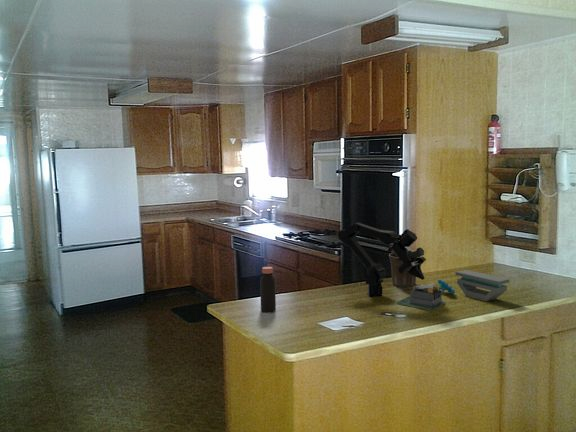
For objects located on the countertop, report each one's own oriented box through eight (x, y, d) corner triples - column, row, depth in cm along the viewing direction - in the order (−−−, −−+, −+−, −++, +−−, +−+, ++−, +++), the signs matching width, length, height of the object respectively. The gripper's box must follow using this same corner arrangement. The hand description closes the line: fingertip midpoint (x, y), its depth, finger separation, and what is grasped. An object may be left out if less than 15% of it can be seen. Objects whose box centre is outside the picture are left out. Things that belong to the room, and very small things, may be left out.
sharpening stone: (508, 301, 253) (509, 279, 251) (498, 304, 248) (498, 281, 247) (465, 290, 274) (466, 269, 272) (455, 293, 269) (455, 271, 268)
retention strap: (414, 289, 251) (413, 287, 251) (417, 288, 254) (416, 285, 254) (433, 287, 245) (432, 284, 245) (435, 285, 247) (435, 283, 247)
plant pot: (425, 283, 289) (425, 254, 287) (410, 289, 277) (410, 259, 275) (398, 279, 300) (398, 251, 298) (383, 285, 288) (383, 255, 286)
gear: (459, 292, 264) (445, 279, 262) (451, 302, 263) (437, 288, 262) (448, 290, 274) (435, 277, 273) (441, 299, 274) (427, 286, 272)
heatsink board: (396, 303, 252) (396, 285, 251) (410, 297, 263) (410, 280, 262) (432, 310, 241) (432, 291, 239) (445, 303, 251) (445, 285, 250)
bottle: (258, 309, 246) (257, 266, 244) (272, 308, 248) (272, 265, 246) (263, 313, 240) (262, 269, 237) (277, 312, 242) (277, 268, 240)
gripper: (404, 245, 244) (426, 272, 238) (422, 239, 258) (444, 265, 252) (388, 260, 250) (409, 287, 244) (407, 254, 264) (428, 279, 258)
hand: (423, 279), depth 249 cm, fingers closed
